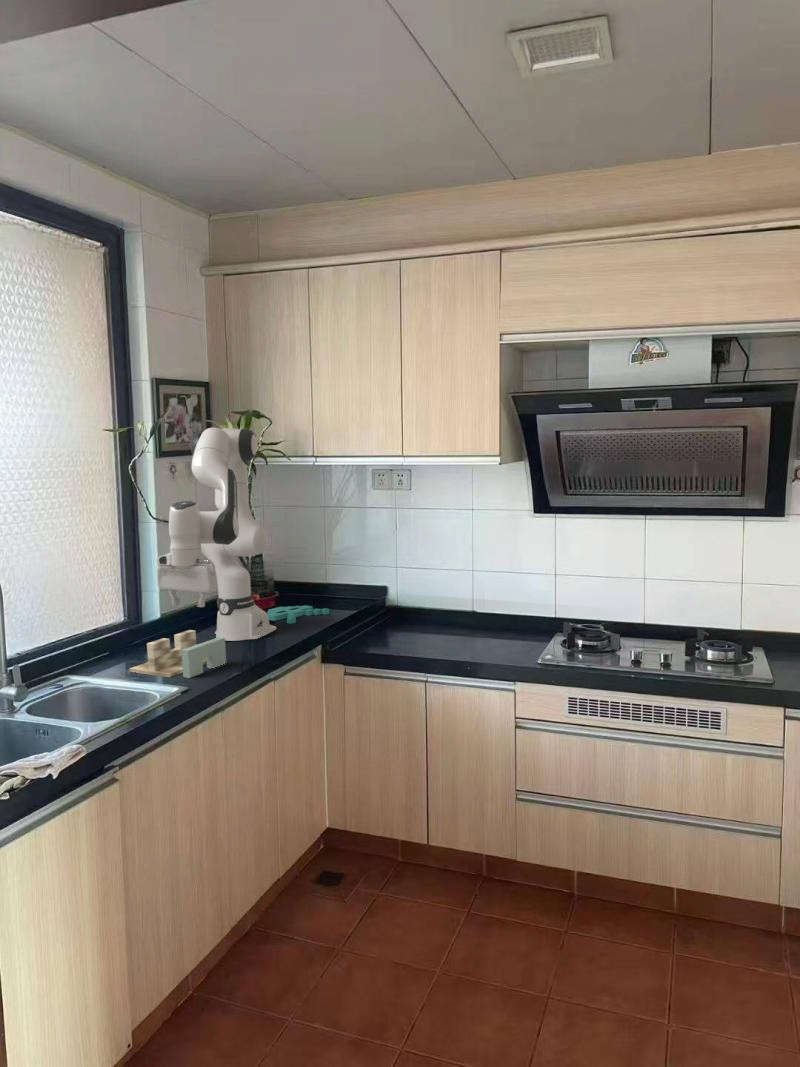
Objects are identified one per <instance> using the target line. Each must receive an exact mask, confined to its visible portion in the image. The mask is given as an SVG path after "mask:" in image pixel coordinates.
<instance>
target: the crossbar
mask: <svg viewBox="0 0 800 1067" xmlns="http://www.w3.org/2000/svg"><path fill="white" fill-rule="evenodd" d="M226 650H227V649H226V641H225V638H220V637H218V638H216V637H215V638H213V639H210V640H206V641H203V642H201V643H198V644H197V643H196V645H195V646H192V647H189V648H186V649H183V650H181V652H182V667H183V673H182V677H183V678H187V679H190V678H193V677H196V676H198V675H199V676H200V675H201V674H204V665H203V659H205V658H207V664H206V667H207V669H212V668H214V669H216V668H215V667H217V668H219V667H221V666H220V665H222V666H224V665H226V664H227V654H226V652H227V651H226ZM225 663H226V664H225ZM223 664H224V665H223ZM218 666H219V667H218Z"/></svg>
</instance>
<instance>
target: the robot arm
mask: <svg viewBox="0 0 800 1067" xmlns="http://www.w3.org/2000/svg"><path fill="white" fill-rule="evenodd" d="M258 444H259V443H258V440H257V436H256V434H255V432H254V431H253V430H251V429H248V428H241V429H240V428H232V427H224V428H220V427H215V426H213V427H209V428H206V429H200V430H196V431H195V432H194V433H193V434H192V435H191V438H190V444H189V446H190V451H191V455H192V458H191V459H192V460H191V472H192V474H193V476H194V477H195V479H196V480H197V481H199V483H201V484H203V485H204V486H206V487H210V488H213V489H214V504H215V507H216V509H217V510H213V511H212V510H209V511H208V510H206V511H205V510H204V511H202V510H201V511H200V510H199V507H198V505H197V503H196V502H194V501H190V500H187V501H186V500H185V501H184V500H183V501H178V502H175V503H173V504H171V506H170V507H169V512H168V513H169V514H168V534H169V538H170V545H169V552H168V553H166V554H163V555H160V556H159V557H157V558H156V563H157V565H158V566H157V569H156V578H157V585H158V588H159V589H160V590H161V589H162V590H168V594H169V597H170V599H171V603H172V605H174V606H179V605H181V598H179V596H178V594H177V593H178V591H186V592H197V593H198V595H199V596H200V597H199V599H198V600H196V607H197V608H204V607H206V599H207V597H208V593H209V594H210V593H213V592H216V591H217V594H218V596H217V599H216V604H217V608H218V611H217V616H216V617H217V618H216V630H215V631H214V635H215V634H216V635H215V638H218V637H220V638H225V642H226V641H231V642H236V641H238V642H239V641H246V640H258V638H259V639H261V638H262V636H263V637H264V636H267V635H268V634H271V633H273V632H274V631H277V626H275V625H273V624H270V620H269V617H268V614H267V613H268V612H266V611H265V610H263V609H262V608H260V607H259V606H258V605H256V602H255V601H259V600H260V594H255V593H253V594H252V587H251V576H250V572H249V570H248V569H247V568H245V567H243V566H242V565H240V564H239V562H238V561H237V559H236V557H254V556H257V555H261V554H263V553H264V552H265V550H266V549H267V547H268V542H269V539H268V538H269V537H268V534H267V532H266V530H265V529H264V528H263V527H262V526H261V525H260V524H259V523H258V522H257V521H256V520H255V518H254V516H253V514H252V512H251V508H250V503H249V481H248V479H249V478H248V477H249V476H248V467H247V465H248V464H249V462H250V461H252V460H253V459H254V458H255V457H256V455H257V453H258V447H259V446H258ZM202 555H203V556H204V557H206V558H207V559H203V557H202ZM260 637H261V638H260Z"/></svg>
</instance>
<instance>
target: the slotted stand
mask: <svg viewBox="0 0 800 1067" xmlns="http://www.w3.org/2000/svg"><path fill="white" fill-rule="evenodd" d="M196 632H197V631H196V630H193V629H189V630H184V631H182V632H179V633H176V634H173V638H174V648H172V649H171V642H170V638H165V637H163V638H160V639H157V640H153V641H150V642H147V643H146V648H147V650H146V651H147V662H144V663H142V664H138V665H136V666H133V667H129V672H130V673H135V672H136V673H137V674H144V675H149V676H150V675H152V676H157V677H158V676H159V677H164V678H172V677H176V676H178V675H181V674H183V667H182V652H181V650H183V649H186V648H189V647H192V646H195V645H197V635H196V634H197V633H196ZM205 665H207V658H205V659H203V666H205Z"/></svg>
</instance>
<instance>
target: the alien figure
mask: <svg viewBox="0 0 800 1067" xmlns="http://www.w3.org/2000/svg"><path fill="white" fill-rule="evenodd" d="M266 613H267V614H268V617H269V621H273V622H276V621H279V620H283V619H286V624H295V623H296V622H297V618H298V617H303V616H313V615H314V616H318V615H324V616H325V615H329V614H330V608H326V607H324V608H321V609H320V608H315V609H314V606H311V605H306V604H305V605H295V606H291V605H290V606H279V607H275V608H270V609H267V612H266Z"/></svg>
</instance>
